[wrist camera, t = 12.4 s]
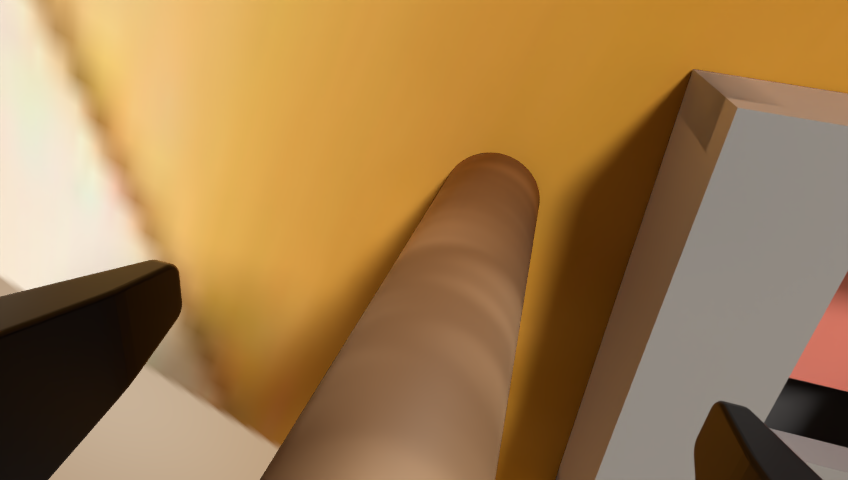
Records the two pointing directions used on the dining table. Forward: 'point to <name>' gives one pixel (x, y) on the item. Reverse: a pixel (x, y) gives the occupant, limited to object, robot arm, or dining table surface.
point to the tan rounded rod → (429, 344)
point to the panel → (725, 286)
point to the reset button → (828, 346)
